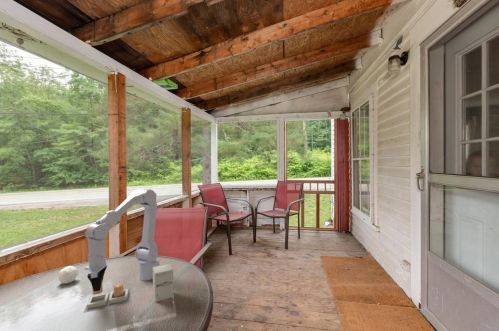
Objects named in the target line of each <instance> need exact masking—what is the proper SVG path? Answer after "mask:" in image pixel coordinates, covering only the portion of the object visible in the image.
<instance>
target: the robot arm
mask: <svg viewBox="0 0 499 331" xmlns="http://www.w3.org/2000/svg"><path fill="white" fill-rule="evenodd" d="M157 195H158V194H157V193H156V192H155V191H154V190H152V189H143V188H142V189H141V188H140V189H139V188H136V189H134V190H133V191H132V192H131V193H130V194H129V196H128V197H126V199H125V200H123V201H122V203H121V204H119V205H118V206H117V207H116V208H115V210H114V209H111V210H109V211H106V212H105V214H104V215H103V216H102V217H101V218H99V219H97V220H96V221H95V223H92V224H90V225H88V227H87V228H86V230H85V232H84V236H85V237H86V238H87V242H88V244H87V245H88V246H87V248H88V265H86V266H85V268H84V269H85V270H88V271H89V272H90V273H88V274H87V275H86V277H87V279H88V280H89V282H90V284H91V286H92V287H91V288H93V291H94V292H95V291H100V289H101V283H102V284H103V282H104V276H105V273H106V270H107V268H108V265H107V260H106V254H107V253H106V237H108V234H109V232H110V231H111V229H112V228H113V227H114V226H115V225H116V224H117V223H118V222H120V221H121V219H122V217H121V216H122V215H123V214H124V213H126V212H128V211H129V210H130V209H131V208H132V207H133V206H135V205H139V204H140V205H141V206H142V207H143V208H144V215H143V224H142V227H143V228H142V235H141V241H140V242H139V243H138V244H137V248H136V250H135V253H134V256H135V258H136V259H137V261H138V262H137V263H138V277H139V280H140V281H143V282H145V281H150V280H153V267H156V266H160V259H159V258H158V256H159V250H158V244H157V243H156V242H155V234H156V221H157V210H158V203H157ZM93 291H92V292H93Z"/></svg>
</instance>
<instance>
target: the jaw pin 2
mask: <svg viewBox="0 0 499 331" xmlns="http://www.w3.org/2000/svg"><path fill="white" fill-rule="evenodd" d="M123 290H124V284H123V283H117V284H115V285H114V286H113V292H114V298H117V297H121V296H124V295H123Z"/></svg>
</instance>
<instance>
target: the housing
mask: <svg viewBox="0 0 499 331" xmlns="http://www.w3.org/2000/svg"><path fill="white" fill-rule="evenodd" d="M130 294H131V289H128V288H126V289H123V295H124V296H121V297H117V298H114V291H110V293H109V292H106V293H102V294H101V293H100V294H96V295H91V296H90V297H89V299H88V301H87V304H86V305H85V308H84V311H83V313H88V312H92V311H97V310H101V309H106V308H111V307H115V306H119V305H124V304H128V303H129V302H130Z"/></svg>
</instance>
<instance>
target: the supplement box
mask: <svg viewBox="0 0 499 331" xmlns="http://www.w3.org/2000/svg"><path fill="white" fill-rule="evenodd" d="M152 296H153V299H154V302H155V303H157V302H158V303H159V302H161V301H164V300H168V299H172V301H174V297H175V296H174V269H173V267H172V263H167V264H163V265H159V266H156V267H153V279H152Z"/></svg>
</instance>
